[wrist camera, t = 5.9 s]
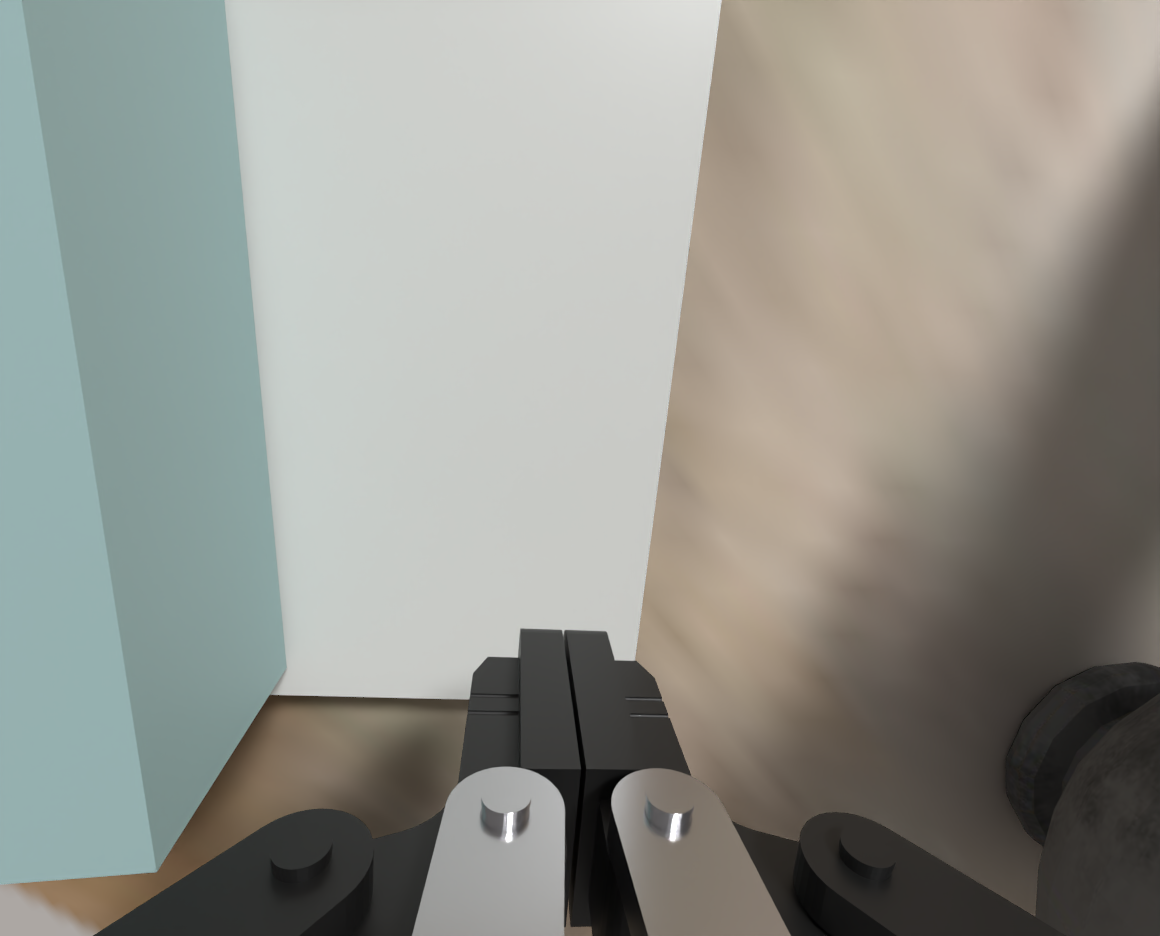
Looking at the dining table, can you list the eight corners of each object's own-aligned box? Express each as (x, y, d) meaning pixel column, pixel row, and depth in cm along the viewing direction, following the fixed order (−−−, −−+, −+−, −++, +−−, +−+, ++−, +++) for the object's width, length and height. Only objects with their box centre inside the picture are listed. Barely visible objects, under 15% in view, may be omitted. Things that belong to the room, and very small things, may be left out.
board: (722, -121, 14) (742, -160, 13) (621, 679, 18) (629, 703, 17) (-137, -301, 12) (-206, -369, 11) (-32, 660, 16) (-74, 686, 15)
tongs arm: (-35, -193, 12) (-803, -934, 5) (214, -168, 12) (-160, -805, 5) (105, 669, 15) (-212, 943, 9) (290, 661, 16) (130, 914, 9)
